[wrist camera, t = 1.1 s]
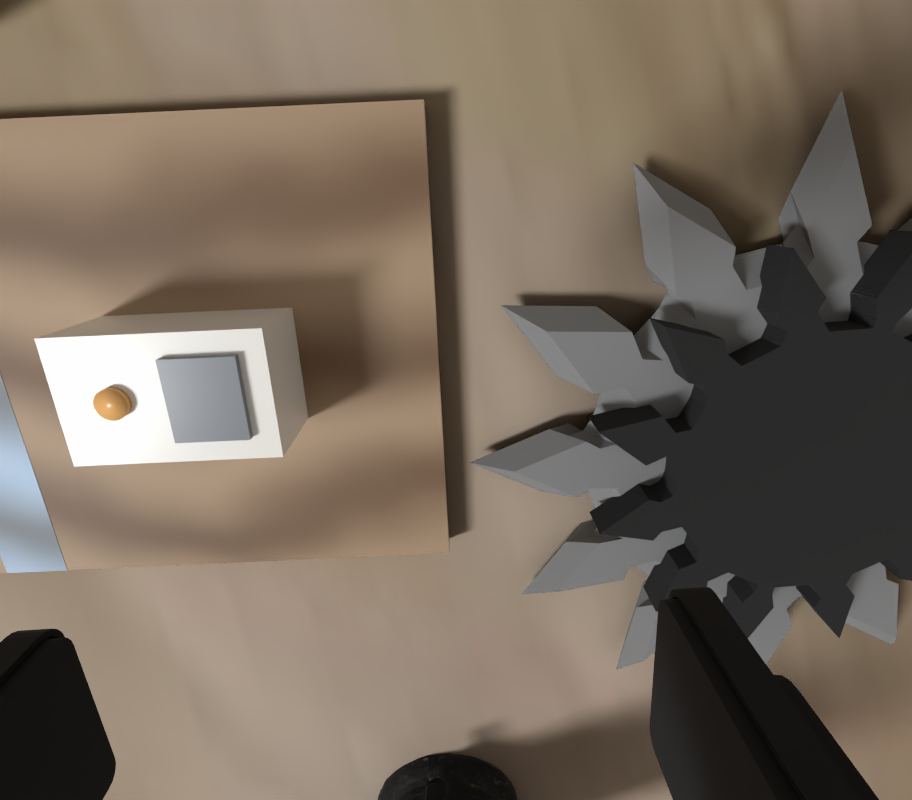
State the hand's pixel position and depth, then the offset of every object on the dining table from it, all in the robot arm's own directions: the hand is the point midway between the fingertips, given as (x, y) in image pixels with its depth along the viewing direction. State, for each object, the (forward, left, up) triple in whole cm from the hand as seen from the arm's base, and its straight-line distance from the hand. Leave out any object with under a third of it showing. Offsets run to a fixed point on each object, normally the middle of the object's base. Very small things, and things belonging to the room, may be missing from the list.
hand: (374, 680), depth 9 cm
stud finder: (-1, -9, -16) cm, 19 cm away
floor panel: (-1, -14, -18) cm, 22 cm away
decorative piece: (+4, +17, -18) cm, 25 cm away
